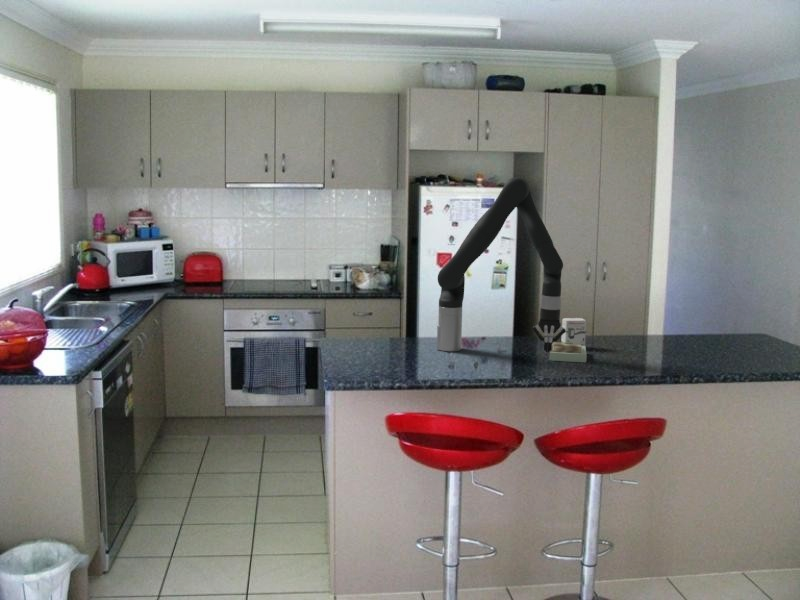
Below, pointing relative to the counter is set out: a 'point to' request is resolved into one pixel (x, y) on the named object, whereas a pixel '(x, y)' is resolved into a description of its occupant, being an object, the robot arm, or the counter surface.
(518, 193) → the robot arm
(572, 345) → the t block
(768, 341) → the counter surface
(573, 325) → the ink box
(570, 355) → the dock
